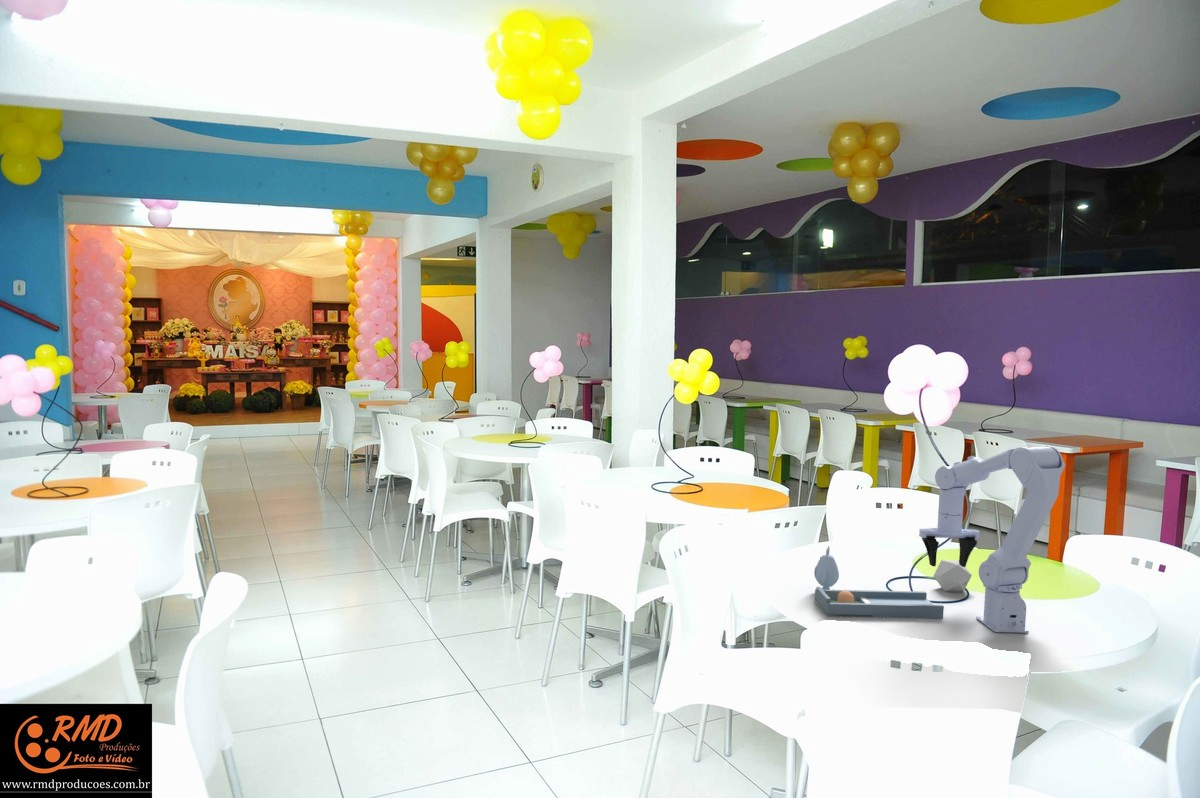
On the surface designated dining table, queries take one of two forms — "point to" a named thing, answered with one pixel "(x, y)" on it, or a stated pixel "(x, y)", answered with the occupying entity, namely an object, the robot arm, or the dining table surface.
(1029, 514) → the robot arm
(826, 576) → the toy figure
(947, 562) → the die
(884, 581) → the dining table surface
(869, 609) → the lane
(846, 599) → the ball
